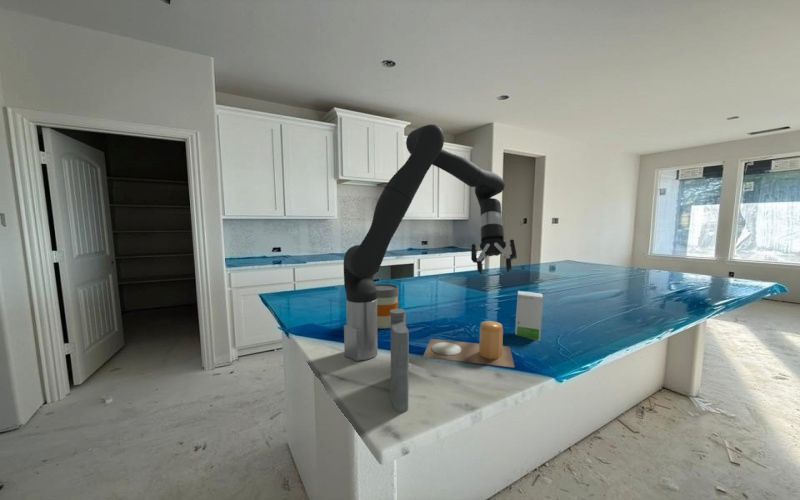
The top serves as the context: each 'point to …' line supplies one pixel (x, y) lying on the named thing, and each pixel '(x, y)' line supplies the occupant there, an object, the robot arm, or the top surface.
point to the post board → (465, 353)
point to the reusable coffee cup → (386, 303)
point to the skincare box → (529, 315)
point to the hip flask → (399, 360)
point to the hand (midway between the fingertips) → (494, 272)
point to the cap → (491, 339)
